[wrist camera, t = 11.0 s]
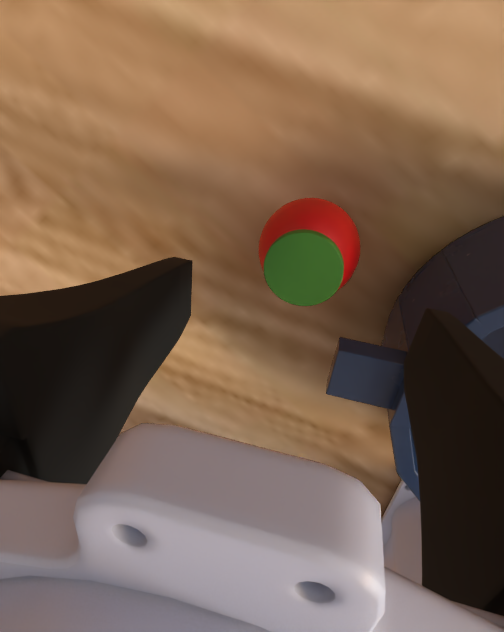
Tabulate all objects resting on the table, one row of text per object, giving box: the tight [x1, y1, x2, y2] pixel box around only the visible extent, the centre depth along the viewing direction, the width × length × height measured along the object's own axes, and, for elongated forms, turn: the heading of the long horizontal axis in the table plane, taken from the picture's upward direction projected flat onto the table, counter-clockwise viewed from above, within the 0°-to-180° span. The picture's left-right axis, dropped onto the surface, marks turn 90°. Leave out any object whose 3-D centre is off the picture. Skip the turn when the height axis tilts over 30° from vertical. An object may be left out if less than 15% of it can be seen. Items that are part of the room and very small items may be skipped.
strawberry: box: [259, 198, 360, 306], centre depth 17 cm, size 4×4×5 cm
